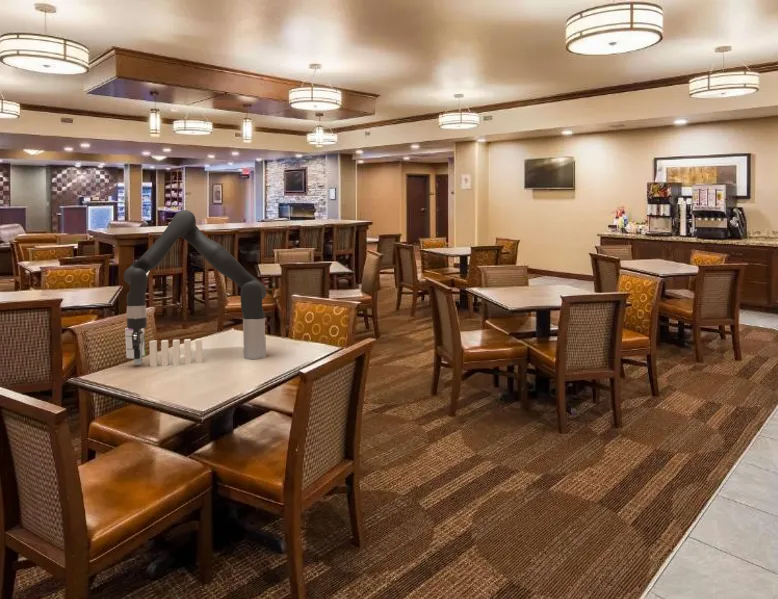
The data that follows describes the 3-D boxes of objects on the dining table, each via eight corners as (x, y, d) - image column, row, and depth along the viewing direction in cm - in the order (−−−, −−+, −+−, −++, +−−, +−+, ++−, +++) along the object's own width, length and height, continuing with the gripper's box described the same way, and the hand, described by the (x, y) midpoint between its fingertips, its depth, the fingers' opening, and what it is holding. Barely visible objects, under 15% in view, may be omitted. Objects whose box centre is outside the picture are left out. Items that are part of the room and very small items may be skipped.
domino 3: (169, 363, 250) (168, 339, 250) (168, 365, 246) (167, 341, 245) (162, 363, 250) (162, 340, 249) (161, 365, 245) (161, 341, 244)
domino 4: (180, 362, 252) (179, 339, 251) (179, 364, 247) (178, 341, 246) (174, 363, 251) (173, 339, 250) (173, 365, 246) (172, 341, 245)
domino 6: (202, 361, 254) (201, 338, 253) (202, 363, 249) (201, 340, 249) (196, 361, 253) (195, 338, 253) (196, 364, 249) (195, 340, 248)
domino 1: (134, 364, 242) (133, 340, 241) (136, 362, 247) (135, 338, 246) (140, 364, 243) (139, 340, 242) (142, 362, 248) (141, 338, 247)
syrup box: (138, 360, 257) (136, 327, 255) (125, 360, 258) (124, 327, 257) (146, 358, 262) (144, 326, 261) (134, 358, 263) (132, 325, 262)
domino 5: (191, 362, 253) (190, 338, 252) (190, 364, 248) (190, 340, 247) (185, 362, 252) (184, 339, 251) (184, 364, 247) (184, 340, 247)
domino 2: (157, 363, 249) (156, 340, 248) (156, 366, 244) (155, 341, 244) (151, 364, 249) (150, 340, 248) (150, 366, 244) (149, 342, 243)
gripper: (129, 315, 249) (130, 355, 251) (124, 318, 236) (125, 361, 237) (148, 314, 251) (149, 354, 253) (144, 318, 238) (145, 360, 239)
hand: (138, 357), depth 245 cm, fingers closed on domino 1, 5 cm apart
